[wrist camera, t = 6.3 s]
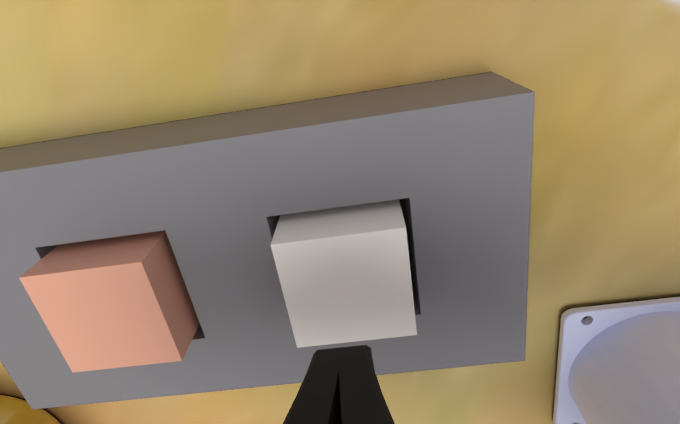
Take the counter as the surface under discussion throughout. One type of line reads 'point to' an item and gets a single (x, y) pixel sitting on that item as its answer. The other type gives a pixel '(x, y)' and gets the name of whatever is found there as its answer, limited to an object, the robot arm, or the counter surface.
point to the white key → (345, 273)
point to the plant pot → (22, 412)
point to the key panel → (261, 221)
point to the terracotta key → (114, 301)
